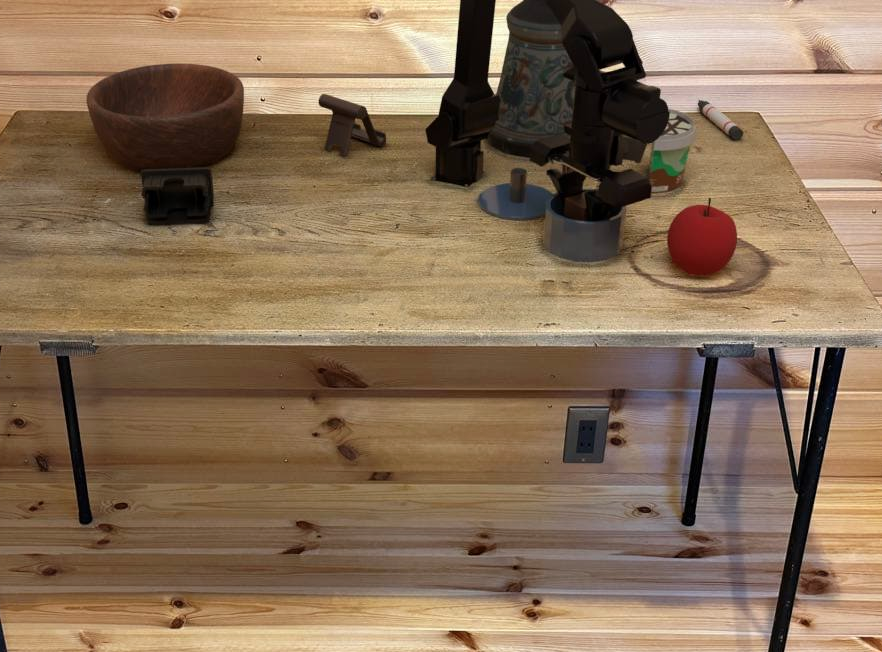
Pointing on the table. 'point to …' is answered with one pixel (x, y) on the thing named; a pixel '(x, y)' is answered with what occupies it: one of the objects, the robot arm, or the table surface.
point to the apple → (701, 240)
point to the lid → (515, 198)
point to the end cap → (177, 195)
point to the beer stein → (532, 81)
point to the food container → (671, 152)
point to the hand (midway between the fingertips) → (583, 226)
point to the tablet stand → (349, 124)
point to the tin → (582, 233)
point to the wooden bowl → (167, 115)
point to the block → (576, 207)
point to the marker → (720, 120)
